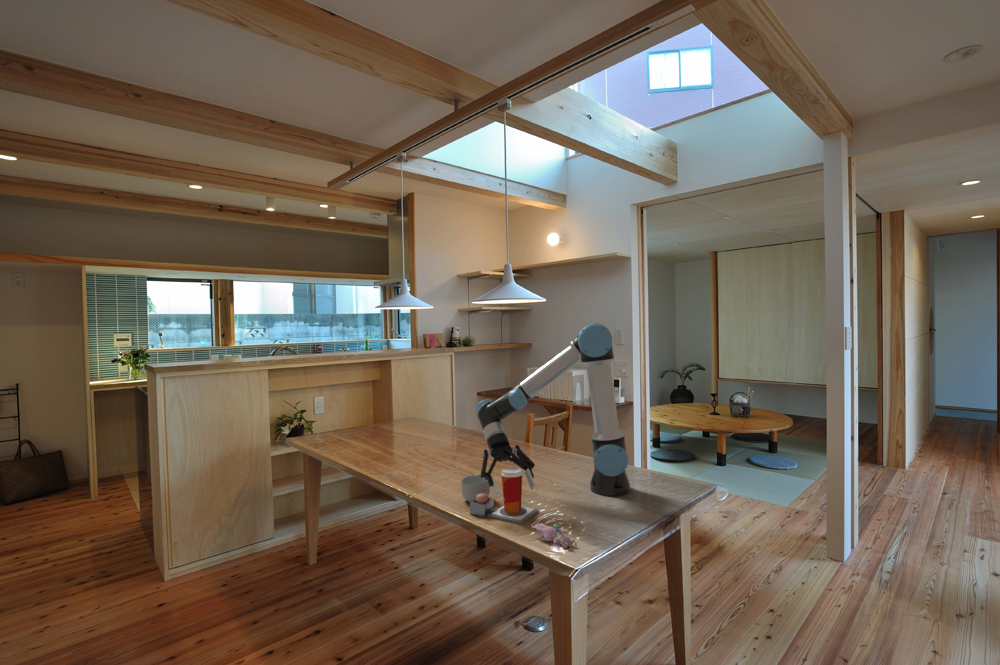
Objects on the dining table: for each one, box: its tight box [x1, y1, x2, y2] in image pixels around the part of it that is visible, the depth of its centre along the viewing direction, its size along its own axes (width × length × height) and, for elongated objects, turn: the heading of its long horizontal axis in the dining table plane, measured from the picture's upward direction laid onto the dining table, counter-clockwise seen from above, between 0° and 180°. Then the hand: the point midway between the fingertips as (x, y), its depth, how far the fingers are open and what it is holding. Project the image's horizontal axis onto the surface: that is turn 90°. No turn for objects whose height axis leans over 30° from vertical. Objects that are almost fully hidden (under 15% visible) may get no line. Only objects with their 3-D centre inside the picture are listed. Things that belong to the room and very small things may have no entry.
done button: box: [476, 493, 488, 504], centre depth 164 cm, size 4×4×3 cm
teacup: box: [459, 473, 491, 503], centre depth 177 cm, size 14×11×8 cm
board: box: [487, 504, 539, 525], centre depth 161 cm, size 13×12×1 cm
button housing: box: [469, 497, 495, 518], centre depth 164 cm, size 6×6×4 cm
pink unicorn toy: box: [532, 523, 578, 551], centre depth 140 cm, size 6×6×15 cm
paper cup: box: [500, 466, 524, 514], centre depth 161 cm, size 8×8×14 cm
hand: (515, 491), depth 159 cm, fingers open, 13 cm apart
